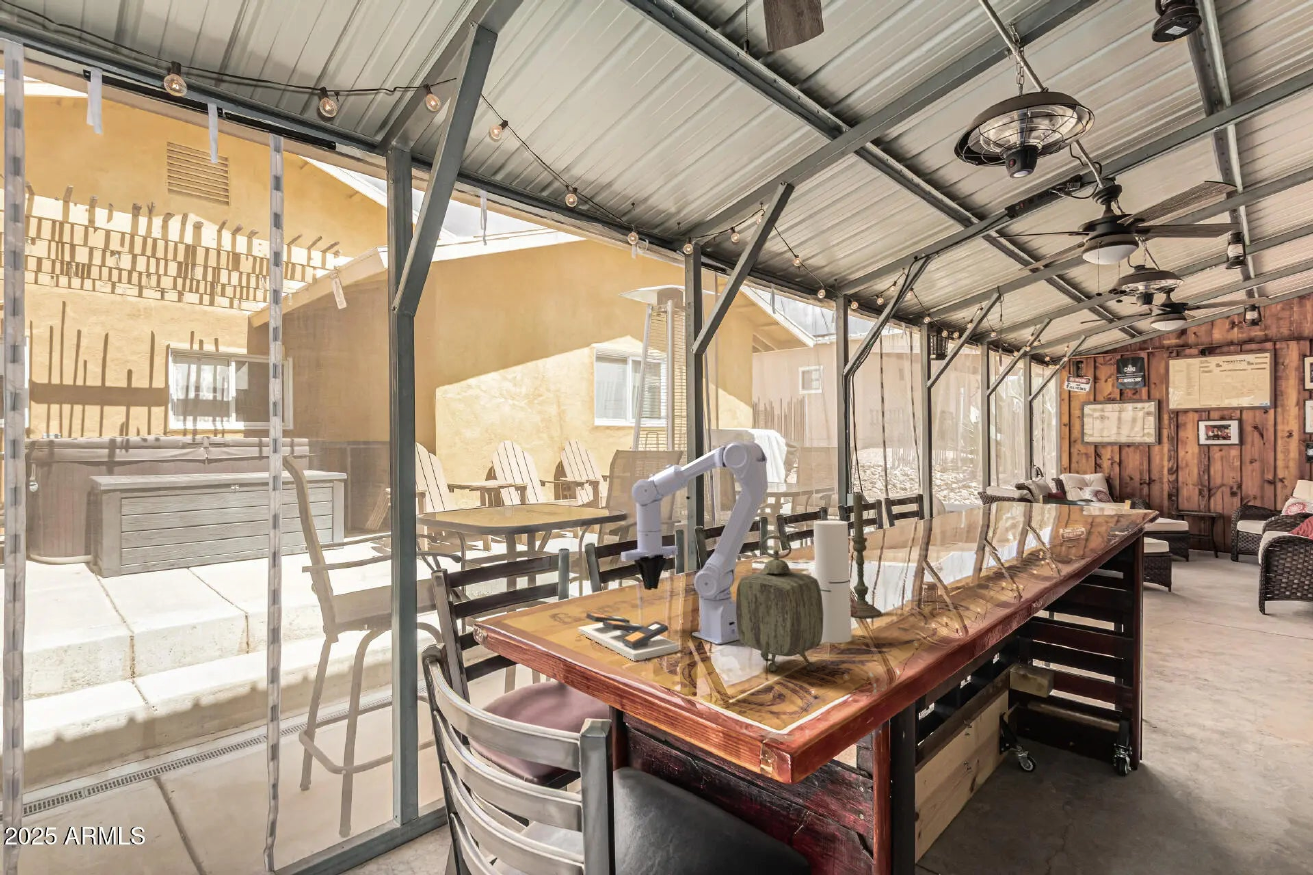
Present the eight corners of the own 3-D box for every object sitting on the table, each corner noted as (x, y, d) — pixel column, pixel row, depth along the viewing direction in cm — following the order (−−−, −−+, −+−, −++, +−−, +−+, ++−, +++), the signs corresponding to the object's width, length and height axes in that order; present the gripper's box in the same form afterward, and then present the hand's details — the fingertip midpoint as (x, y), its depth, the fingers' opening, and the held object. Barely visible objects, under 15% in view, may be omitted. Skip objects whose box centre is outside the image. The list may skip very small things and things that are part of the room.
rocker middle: (647, 632, 144) (648, 627, 144) (612, 629, 139) (613, 623, 139) (637, 628, 147) (638, 623, 148) (602, 625, 143) (603, 619, 143)
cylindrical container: (853, 643, 137) (848, 524, 138) (818, 642, 139) (814, 524, 139) (850, 633, 144) (846, 520, 145) (816, 633, 146) (812, 520, 146)
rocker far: (629, 624, 150) (630, 619, 151) (595, 621, 146) (596, 616, 146) (619, 620, 154) (620, 616, 154) (586, 617, 149) (587, 612, 150)
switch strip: (679, 650, 136) (679, 638, 136) (633, 661, 130) (633, 648, 130) (619, 625, 157) (619, 615, 157) (578, 633, 151) (577, 623, 151)
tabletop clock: (825, 671, 121) (820, 535, 122) (797, 684, 115) (792, 541, 115) (762, 654, 132) (758, 530, 132) (733, 666, 125) (729, 535, 126)
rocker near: (668, 630, 137) (667, 625, 137) (633, 648, 132) (631, 643, 132) (657, 625, 141) (655, 620, 141) (622, 643, 136) (621, 638, 136)
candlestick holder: (835, 611, 164) (831, 491, 165) (866, 607, 167) (862, 490, 168) (856, 619, 156) (852, 493, 156) (889, 615, 158) (884, 491, 159)
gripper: (665, 526, 161) (667, 581, 160) (613, 531, 153) (615, 590, 153) (682, 528, 155) (683, 586, 154) (629, 534, 147) (631, 595, 147)
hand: (651, 588), depth 153 cm, fingers closed
